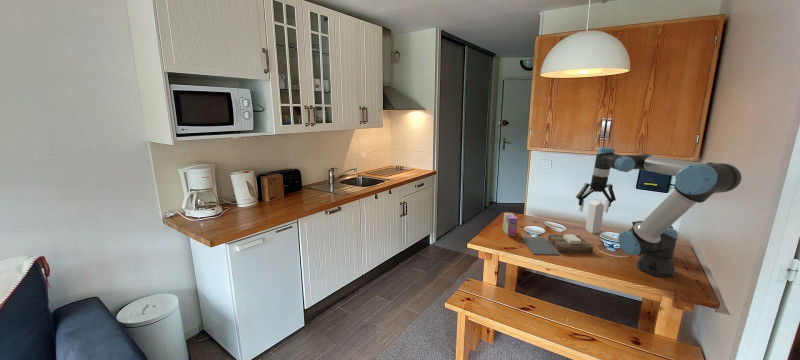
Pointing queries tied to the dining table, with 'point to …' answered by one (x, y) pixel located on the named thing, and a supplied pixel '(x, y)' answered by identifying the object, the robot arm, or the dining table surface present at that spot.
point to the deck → (569, 245)
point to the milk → (594, 216)
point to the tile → (571, 239)
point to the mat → (540, 246)
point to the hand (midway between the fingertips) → (593, 211)
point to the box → (510, 224)
